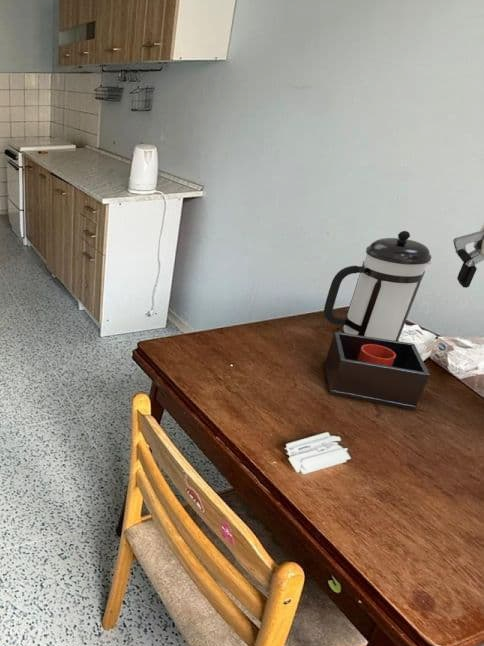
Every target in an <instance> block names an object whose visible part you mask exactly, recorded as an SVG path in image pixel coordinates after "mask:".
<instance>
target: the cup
mask: <svg viewBox="0 0 484 646" xmlns="http://www.w3.org/2000/svg"><path fill="white" fill-rule="evenodd" d="M395 358H396V354H395V352H393V351H392V350H391V349H388V348H386V347H383V346H380V345H374V344H366V345H363V346H362V347H361V349H360V352H359V354H358V357H357V360H356V361H361V362H367V363H372V364H378V365H384V366H390V367H392V365H393V363H394V360H395Z"/></svg>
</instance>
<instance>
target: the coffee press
mask: <svg viewBox="0 0 484 646" xmlns="http://www.w3.org/2000/svg"><path fill="white" fill-rule="evenodd" d="M410 237H411V234H410V232H409V231H408V230H402V231H400V232H399V233H398V234H397V237H384V238H379V239H376V240H374V241H372V242H371V243H370V245H368V246H366V249H365V254H366V255H365V258H364V261H362V265H361V266H360V265H359V266H358V265H349V266H346V267H344V268H342V269H340V270H339V271H338V272H337V273H336V274H335V275H334V277H333V278H332V281H331V283H330V287H329V290H328V294H327V297H326V299H325V303H324V308H323V315H324V318H325V319H326V320H327V321H328V322H329V323H331V324H334V325H339V327H337V329H336V332H340V333H347V334H353V335H360V336H366V337H373V338H380V339H386V340H393V341H400V338H401V335H402V333H403V330H404V327H405V324H406V322H407V319H408V317H409V314H410V312H411V309H412V307H413V305H414V304H413V303H414V302H415V299H416V296H417V295H418V294H417V293H418V291H419V288H420V285H421V282H422V281H423V278H424V275H425V273H426V270H425V269H426V267H427V265H431V264H432V255H431V253H430V249H429V248H428V247H427V246H426V245H425V244H423V243H421V242H419V241H416V240H412V239H409V238H410ZM354 274H359V275H358V278H357V282H356V285H355V287H354V291H353V294H352V297H351V300H350V303H349V307H348V310H347V313H346V315H345V317H337V316H334V313H333V311H334V308H335V304H336V300H337V298H338V297H337V296H338V293H339V290H340V287H341V284H342V283H343V281H344V279H345V278H346V277H347V276H350V275H354ZM341 328H343V330H341Z"/></svg>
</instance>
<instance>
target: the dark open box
mask: <svg viewBox="0 0 484 646" xmlns="http://www.w3.org/2000/svg"><path fill="white" fill-rule="evenodd" d="M366 344H374V345H380V346H383V347H386V348H388V349H391V350H392V351H393V352H395V354H396V358H395V360H394V363H393V365H392V367H390V366H384V365H378V364H372V363H367V362H361V361H356V360H357V357H358V354H359V352H360V349H361V347H362V346H363V345H366ZM329 345H330V346H329V349H328V353H327V355H326V358H325V361H324V366H325V373H326V378H327V384H328V385H327V386H328V390H329V391H328V392H329V394H330V395H334V396H340V397H345V398H349V399H355V400H359V401H366V402H370V403H376V404H380V405H385V406H390V407H396V408H400V409H407V410H411V411H415V410H416V407H417V406H418V403H419V401H420V399H421V396H422V394H423V391H424V389H425V387H426V386H427V385H426V384H427V382H428V380H429V378H430V376H431V374H430V372H429V370H428V368H427V366H426V364H425V362H424V360H423V358H422V356H421V354H420V352H419V350H418V349H417V346H416V344H415V343H412V342H407V341H400V340H399V341H393V340H386V339H380V338H373V337H366V336H360V335H353V334H347V333H345V332H343V333H340V332H337V331H334V333H333V336H332V339H331V343H330V344H329Z"/></svg>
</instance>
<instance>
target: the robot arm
mask: <svg viewBox="0 0 484 646" xmlns="http://www.w3.org/2000/svg"><path fill="white" fill-rule="evenodd" d="M452 242H453V246H454V250H455V253H456V255H457V257H459V258H460V260H461V261H462V262H463V263H462V264H461V267H460V270H459V272H458V274H457V277H456V279H457V281H458V283H459V285H460V286H461V287H462V288H464V289H465V288H466V289H467V288H469V287H470V285H471V283H472V281H473V279H474V276H475V275H476V271H477V270H478V268H477V266H476V265H478V264H479V263H481V262H483V261H484V223H483V224H482V226H481V228H480V230H479V231H476V232H472V233H469V234H464V235H461V236H457V237H455V238H453V240H452ZM472 243H473V248H474V250H472V251H470V252H469V253H468V251H467V248H466V246H467V245H468V244H472Z"/></svg>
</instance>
